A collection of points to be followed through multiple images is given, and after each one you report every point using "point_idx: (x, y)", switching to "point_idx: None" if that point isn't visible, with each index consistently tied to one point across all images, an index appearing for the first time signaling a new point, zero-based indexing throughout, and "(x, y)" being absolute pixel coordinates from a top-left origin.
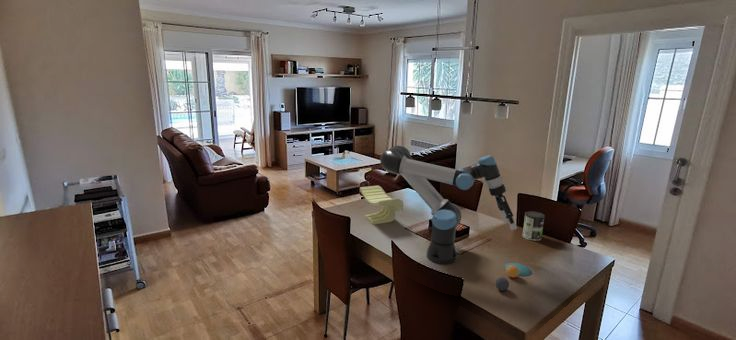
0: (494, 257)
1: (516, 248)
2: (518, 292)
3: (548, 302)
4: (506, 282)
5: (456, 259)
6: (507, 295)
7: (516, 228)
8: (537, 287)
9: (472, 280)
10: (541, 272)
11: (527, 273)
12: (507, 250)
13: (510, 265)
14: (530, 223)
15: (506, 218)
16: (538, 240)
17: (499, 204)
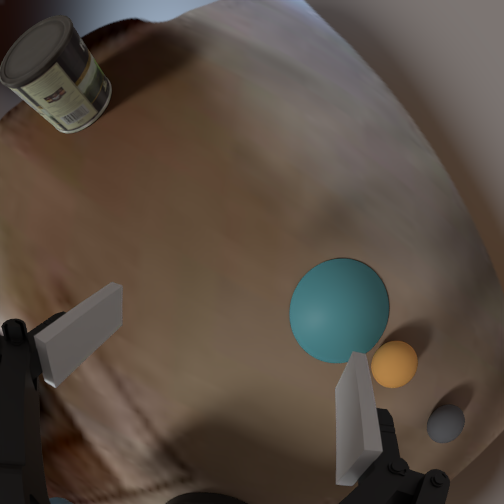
0: (227, 362)
1: (153, 212)
2: (457, 373)
3: (498, 307)
4: (464, 420)
5: (239, 500)
6: None
7: (364, 360)
8: (448, 300)
9: None
10: (369, 225)
11: (376, 289)
12: (166, 266)
13: (394, 378)
14: (59, 86)
15: (104, 317)
16: (111, 90)
17: (43, 473)
